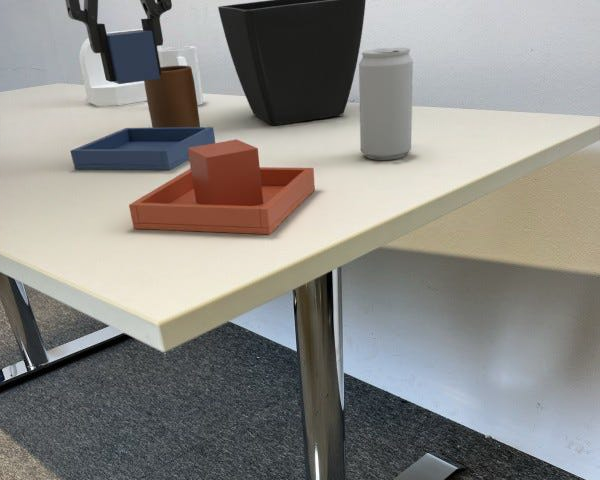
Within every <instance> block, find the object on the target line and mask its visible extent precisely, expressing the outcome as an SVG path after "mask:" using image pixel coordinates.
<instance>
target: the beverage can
mask: <svg viewBox="0 0 600 480" xmlns="http://www.w3.org/2000/svg"><path fill="white" fill-rule="evenodd" d="M410 53H411V48H408V47H388V48H387V47H386V48H375V49H369V50H364V51H361V55H362V58H361V60H360V61H359V63H358V76H359V77H358V79H359V80H358V84H359V85H358V86H359V132H360V133H359V135H360V140H359V141H360V152H361V153H362V154H364V156H366V158H367V159H369V160H375V161H392V160H398V159H401V158H404V157H405V156H406V155H407V153H408V152H410V151H411V149H412V128H413V126H412V125H413V124H412V121H413V81H414V80H413V78H414V77H413V75H414V74H413V73H414V69H413V68H414V60H413V58H412V56H411V55H410Z"/></svg>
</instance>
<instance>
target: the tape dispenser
mask: <svg viewBox="0 0 600 480" xmlns="http://www.w3.org/2000/svg"><path fill="white" fill-rule="evenodd" d="M135 30H143V28H135V29H126V30H117V31H109V32H108V31H106V34H108V33H117V32H126V31H135ZM162 48H163V45H161V46H157V49H162ZM78 61H79V67H80V72H81V76H82V79H83V84H84V89H85V93H86V98H87V101H88V103H89V104H91V105H94V106H96V107H111V106H123V105H131V104H137V103H142V102H147V96H146V91H145V85H144V81H139V82H132V83H125V84H117V83H115V82H110V81H107V80H106V78H105V73H104V69H103V64H102V59H101V55H100V53H93V51H92V49H91V46H90V41H89V37H87V38H86V39H85V40H84V41H83V43H82V45H81V47H80V48H79V56H78Z"/></svg>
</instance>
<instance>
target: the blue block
mask: <svg viewBox="0 0 600 480" xmlns="http://www.w3.org/2000/svg"><path fill="white" fill-rule="evenodd" d="M134 30H135V29H134ZM107 40H108V45H109V49H110V54H111V59H112V64H113V69H114V74H115V78H116V81H114V82H115V83H117V84H125V83H132V82H139V81H146V80H153V79H160V76H159V70H158V64H157V59H156V53H155V47H154V41H153V36H152V31H146V30H135V31H126V32H117V33H108V34H107Z"/></svg>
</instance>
